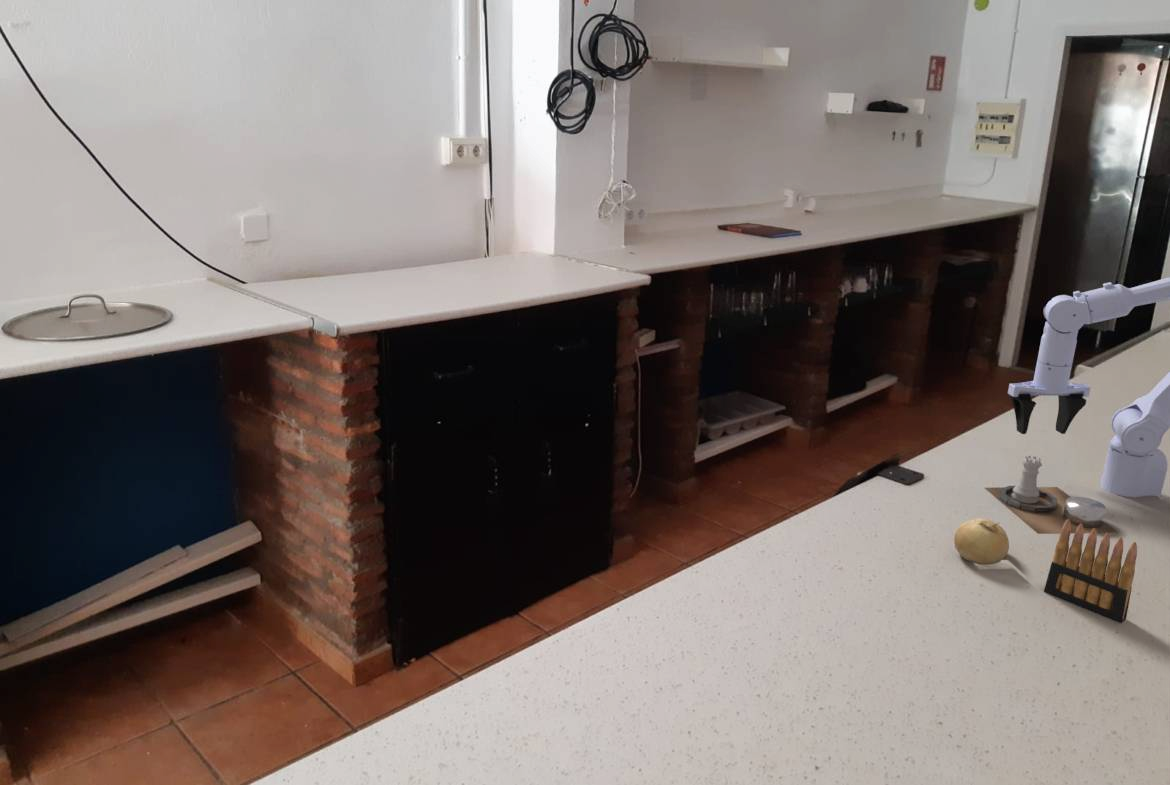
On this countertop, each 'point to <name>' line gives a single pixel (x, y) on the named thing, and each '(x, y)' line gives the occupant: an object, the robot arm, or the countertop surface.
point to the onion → (981, 541)
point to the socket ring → (1028, 507)
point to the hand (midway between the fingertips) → (1040, 432)
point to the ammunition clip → (1092, 574)
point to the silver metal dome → (1084, 512)
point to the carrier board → (1050, 520)
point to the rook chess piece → (1028, 482)
